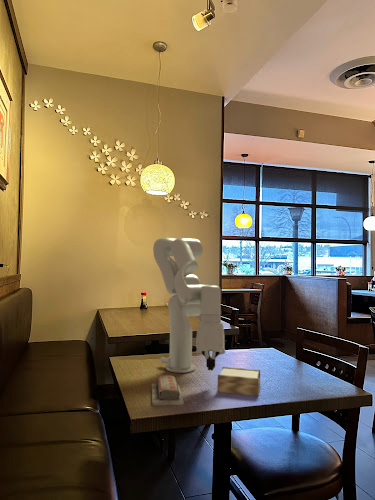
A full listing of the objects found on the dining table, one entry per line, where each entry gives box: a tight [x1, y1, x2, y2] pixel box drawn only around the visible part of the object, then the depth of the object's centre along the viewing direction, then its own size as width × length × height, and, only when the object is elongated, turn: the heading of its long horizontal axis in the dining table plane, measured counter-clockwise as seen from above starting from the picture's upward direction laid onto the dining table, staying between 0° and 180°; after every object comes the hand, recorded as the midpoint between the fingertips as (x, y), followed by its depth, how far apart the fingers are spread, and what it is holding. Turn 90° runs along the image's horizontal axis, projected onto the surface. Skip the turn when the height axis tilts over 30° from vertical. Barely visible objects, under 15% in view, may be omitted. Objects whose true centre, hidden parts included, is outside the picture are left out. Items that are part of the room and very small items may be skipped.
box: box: [217, 366, 261, 397], centre depth 128 cm, size 14×11×6 cm
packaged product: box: [151, 374, 185, 406], centre depth 120 cm, size 18×5×10 cm
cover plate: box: [219, 368, 259, 378], centre depth 128 cm, size 13×8×2 cm, turn 75°
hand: (210, 369), depth 130 cm, fingers closed
